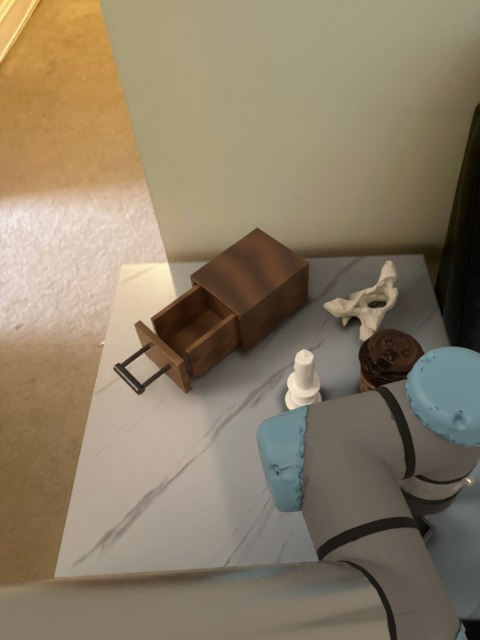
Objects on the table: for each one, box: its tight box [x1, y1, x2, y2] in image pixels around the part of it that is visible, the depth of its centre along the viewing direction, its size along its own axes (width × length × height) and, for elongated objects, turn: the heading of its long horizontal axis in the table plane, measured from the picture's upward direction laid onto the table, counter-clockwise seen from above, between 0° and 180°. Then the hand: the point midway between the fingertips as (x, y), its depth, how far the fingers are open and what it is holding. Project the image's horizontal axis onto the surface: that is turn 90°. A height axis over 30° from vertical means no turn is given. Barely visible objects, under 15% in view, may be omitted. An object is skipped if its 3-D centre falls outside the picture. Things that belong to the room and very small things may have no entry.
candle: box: [284, 348, 323, 411], centre depth 78 cm, size 5×5×12 cm
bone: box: [323, 260, 399, 343], centre depth 90 cm, size 9×14×8 cm, turn 142°
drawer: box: [112, 284, 241, 396], centre depth 85 cm, size 20×10×8 cm, turn 133°
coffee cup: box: [357, 328, 426, 393], centre depth 77 cm, size 9×8×13 cm
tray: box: [414, 515, 437, 544], centre depth 69 cm, size 6×7×4 cm
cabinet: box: [189, 226, 310, 354], centre depth 91 cm, size 15×12×10 cm
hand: (394, 532), depth 71 cm, fingers open, 13 cm apart
